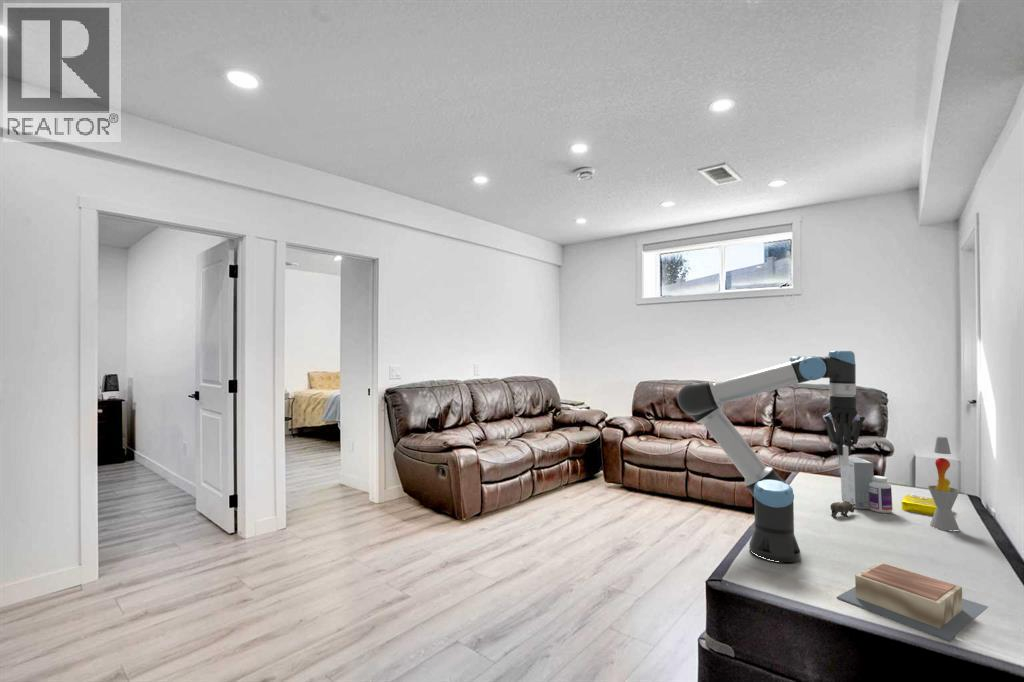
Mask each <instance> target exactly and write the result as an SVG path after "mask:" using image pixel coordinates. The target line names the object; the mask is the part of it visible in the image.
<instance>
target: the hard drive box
mask: <svg viewBox="0 0 1024 682" xmlns="http://www.w3.org/2000/svg"><path fill="white" fill-rule="evenodd" d="M848 458H849V466H844V465H841V464H840V488H841V500H842V501H843V502H844V501H847V502H850V503H851V504H856V505H855V506H854V507H856V508H855V509H862V510H863V509H865V510H871V509H870V499H869V483H870V482H872V477H874V476H875V475H874V462H871V461H868V460H867V459H863V458H860V457H857V456H848ZM854 507H853V508H854Z"/></svg>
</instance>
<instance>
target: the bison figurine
mask: <svg viewBox="0 0 1024 682" xmlns="http://www.w3.org/2000/svg"><path fill="white" fill-rule="evenodd" d="M855 505H856V504H851V503H850V502H847V501H844V500H843V501H842V502H839V501H837V502H832V503H830V510H831V517H832V518H833V519H838V516H837V514H839V513H840V515H841V516H844V517H845V516H846V517H845V518H848V517H849V515H848V513H849V512H850V513H851V514H853V513H855V510H856V509H857V508H856V507H854V506H855Z"/></svg>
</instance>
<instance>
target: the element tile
mask: <svg viewBox="0 0 1024 682" xmlns="http://www.w3.org/2000/svg"><path fill="white" fill-rule="evenodd" d="M936 508H937V506H936V504H935V502H934V499H933V497H932V498H931V497H926V496H920V495H917V494H906V495H905V496H904V497H903V498H902V499H901V510H902V511H905V512H910V513H915V514H921V515H926V516H927V515H928V516H931V515H934V513H935V510H936Z"/></svg>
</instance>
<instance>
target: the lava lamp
mask: <svg viewBox="0 0 1024 682" xmlns="http://www.w3.org/2000/svg"><path fill="white" fill-rule="evenodd" d="M949 444H950V443H949V439H948V437H946V436H937V437H936V440H935V446H934V450H933V451H934V453H936V454H939V455H941V454H942V455H951V454H952V452H951V449H950V448H951V447H950V445H949ZM934 464H935V467H936V471H937V475H938V479H937V485H928V486H927V487H928V490H929V492H930V495H931V497H932V498H933V499H934V502H935V504H936V506H937V508H936V510H935V513H934V515H933V516H932V518H931V521H930V524H929V526H930V527H931V526H932V528H933V527H934V529H936V528H937V529H936V530H939V529H942V530H941V531H944V530H960V528H959V525H958V523H957V519H956V518H955V515H954V513H953V510H952V508H953V506H954V505H955V502H956V500H957V498H958V495H959V493H960V490H959V489H958V488H953V487H950V485H951V482H950V480H949V479H948V478H946V473H947V471H948V470H949V468H950V466H951V462H950V461H949V460H948V459H946V458H944V457H939V458H937V459H936V460H935V462H934Z"/></svg>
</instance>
